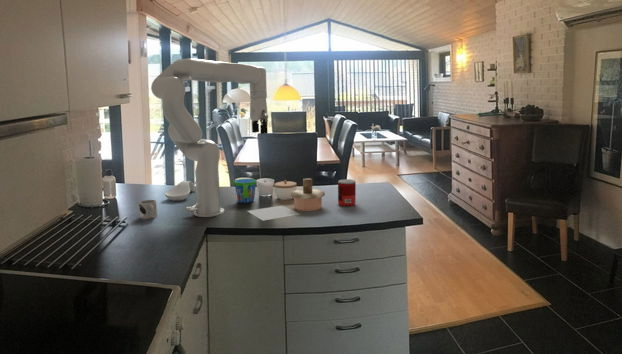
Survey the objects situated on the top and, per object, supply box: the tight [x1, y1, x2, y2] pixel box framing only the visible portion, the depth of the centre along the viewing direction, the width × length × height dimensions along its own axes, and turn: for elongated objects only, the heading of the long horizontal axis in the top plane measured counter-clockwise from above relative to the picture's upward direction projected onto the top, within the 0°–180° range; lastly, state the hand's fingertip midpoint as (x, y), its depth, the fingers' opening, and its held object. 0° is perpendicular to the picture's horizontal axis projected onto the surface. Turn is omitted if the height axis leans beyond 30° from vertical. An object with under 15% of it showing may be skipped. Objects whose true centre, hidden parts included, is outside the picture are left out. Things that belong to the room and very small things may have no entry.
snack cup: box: [233, 178, 258, 204], centre depth 204 cm, size 16×10×10 cm
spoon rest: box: [164, 180, 196, 202], centre depth 217 cm, size 24×12×7 cm, turn 175°
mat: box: [247, 205, 301, 222], centre depth 184 cm, size 17×17×1 cm
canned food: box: [337, 178, 357, 207], centre depth 197 cm, size 8×8×11 cm
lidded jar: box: [273, 179, 298, 201], centre depth 208 cm, size 11×11×9 cm
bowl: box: [293, 197, 323, 212], centre depth 192 cm, size 12×12×6 cm
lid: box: [291, 177, 326, 199], centre depth 191 cm, size 15×15×7 cm
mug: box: [138, 199, 158, 220], centre depth 180 cm, size 10×7×7 cm
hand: (259, 132), depth 200 cm, fingers open, 9 cm apart
